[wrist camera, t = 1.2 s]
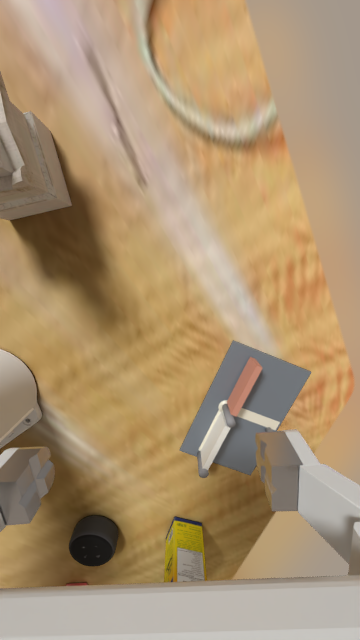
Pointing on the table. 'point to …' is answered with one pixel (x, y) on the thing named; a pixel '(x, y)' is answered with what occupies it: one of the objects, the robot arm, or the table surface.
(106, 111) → the table surface
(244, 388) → the fence panel
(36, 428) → the table surface
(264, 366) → the card
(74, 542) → the smart speaker
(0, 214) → the miniature monument
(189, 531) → the supplement box
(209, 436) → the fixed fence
